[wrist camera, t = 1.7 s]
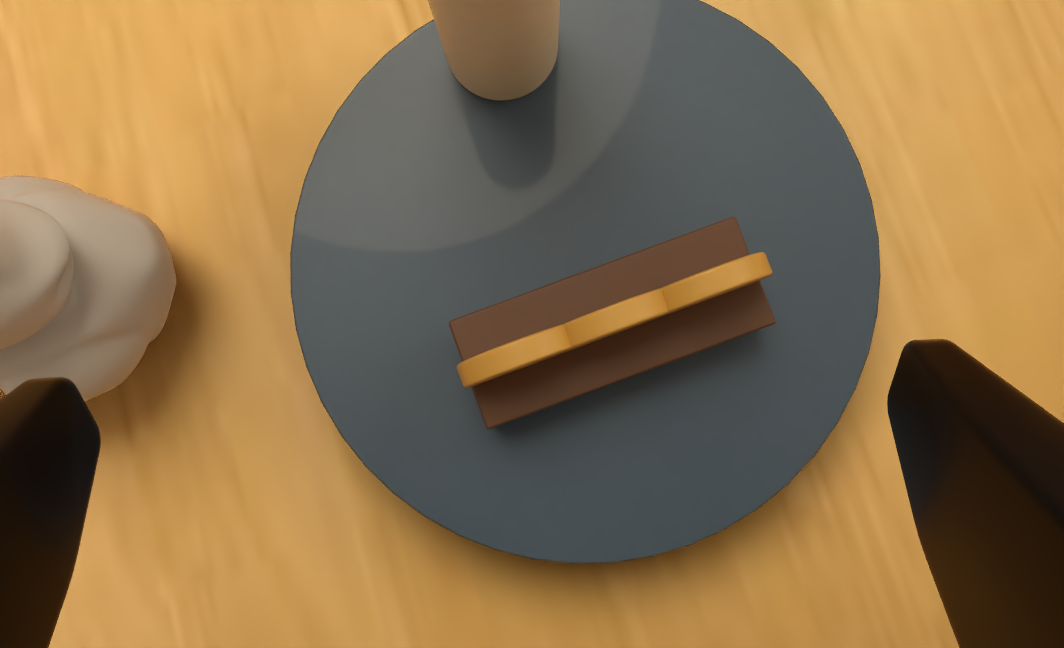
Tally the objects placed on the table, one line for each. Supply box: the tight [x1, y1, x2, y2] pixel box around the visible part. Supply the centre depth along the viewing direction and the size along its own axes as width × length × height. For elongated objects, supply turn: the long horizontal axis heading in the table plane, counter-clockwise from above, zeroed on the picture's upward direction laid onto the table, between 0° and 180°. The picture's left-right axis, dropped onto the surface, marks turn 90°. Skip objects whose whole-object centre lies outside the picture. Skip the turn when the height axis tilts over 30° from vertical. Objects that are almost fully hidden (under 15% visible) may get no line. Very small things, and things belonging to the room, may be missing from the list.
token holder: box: [291, 0, 880, 564], centre depth 16 cm, size 13×13×11 cm
